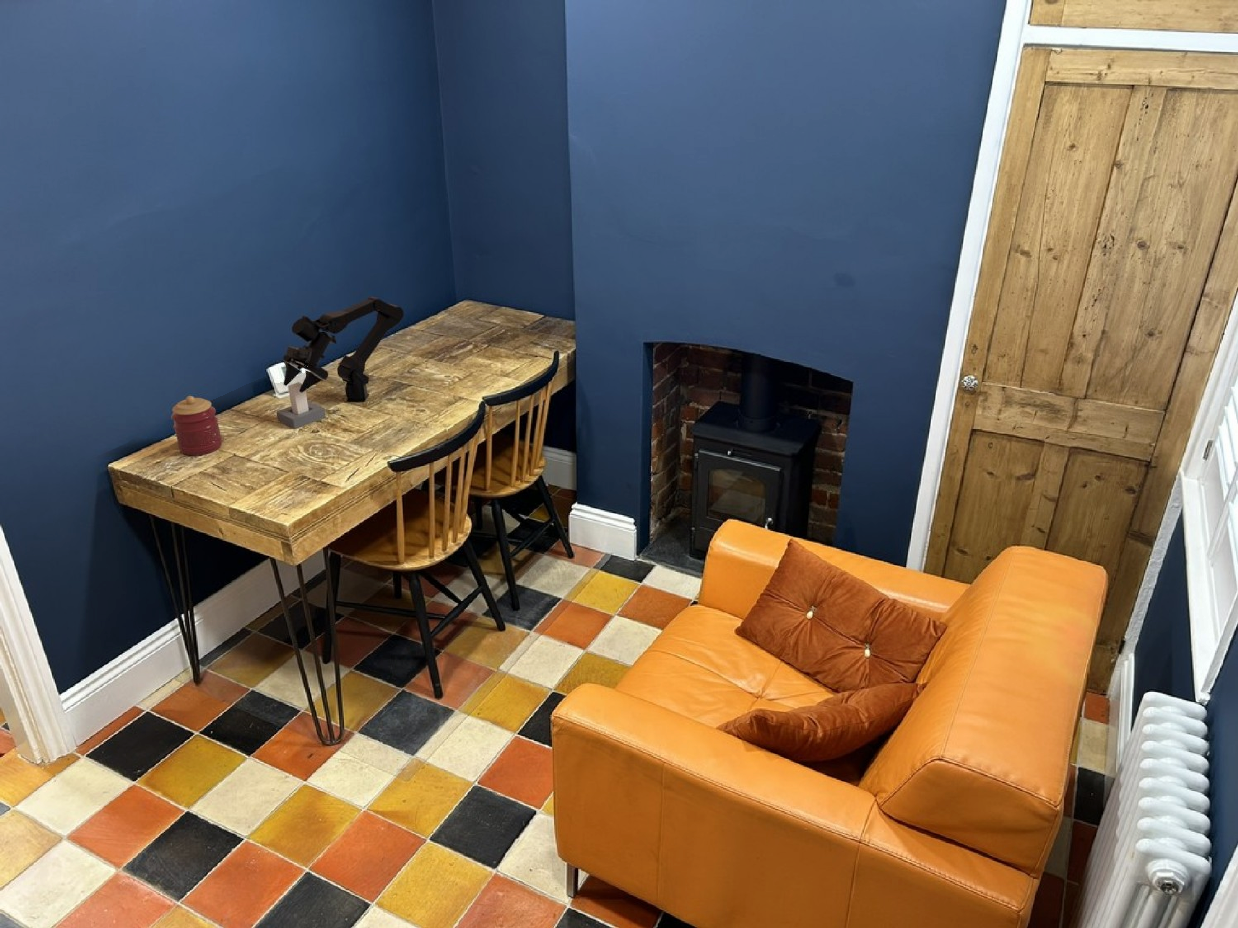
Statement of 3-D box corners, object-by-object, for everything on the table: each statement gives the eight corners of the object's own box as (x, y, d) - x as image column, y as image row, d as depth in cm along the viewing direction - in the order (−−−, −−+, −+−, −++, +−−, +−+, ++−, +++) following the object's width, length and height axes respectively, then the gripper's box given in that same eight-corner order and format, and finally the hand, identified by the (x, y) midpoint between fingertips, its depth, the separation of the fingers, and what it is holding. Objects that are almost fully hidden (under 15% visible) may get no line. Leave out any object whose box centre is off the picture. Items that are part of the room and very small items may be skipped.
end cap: (309, 409, 325) (307, 400, 323) (325, 417, 319) (324, 408, 318) (278, 421, 317) (276, 411, 315) (294, 429, 311) (293, 419, 310)
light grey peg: (304, 416, 320) (298, 382, 315) (310, 418, 318) (304, 384, 313) (293, 420, 318) (287, 385, 312) (299, 422, 316) (293, 388, 310)
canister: (198, 459, 292) (185, 407, 284) (170, 451, 297) (157, 399, 289) (232, 443, 302) (221, 393, 294) (204, 435, 307) (193, 385, 299)
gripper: (282, 330, 313) (258, 370, 311) (315, 342, 302) (290, 384, 300) (306, 346, 322) (283, 386, 320) (339, 359, 311) (315, 399, 309)
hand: (292, 388), depth 312 cm, fingers open, 9 cm apart
